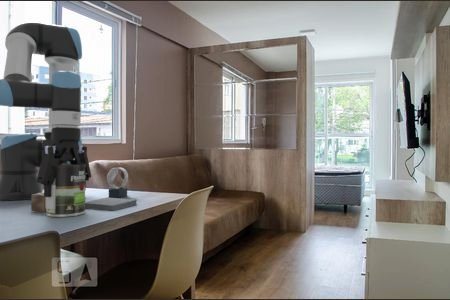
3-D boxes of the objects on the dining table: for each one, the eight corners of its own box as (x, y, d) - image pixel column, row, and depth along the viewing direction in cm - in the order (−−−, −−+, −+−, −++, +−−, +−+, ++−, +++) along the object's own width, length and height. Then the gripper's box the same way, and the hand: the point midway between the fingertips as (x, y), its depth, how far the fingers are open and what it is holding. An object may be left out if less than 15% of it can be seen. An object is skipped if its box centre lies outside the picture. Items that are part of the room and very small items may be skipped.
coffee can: (92, 211, 104) (92, 163, 104) (70, 218, 94) (70, 165, 94) (61, 209, 106) (61, 162, 106) (37, 216, 96) (37, 164, 96)
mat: (81, 207, 109) (81, 202, 109) (106, 201, 121) (106, 197, 120) (112, 210, 105) (112, 205, 105) (136, 204, 116) (136, 199, 116)
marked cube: (31, 211, 103) (31, 193, 102) (45, 208, 107) (45, 191, 107) (44, 213, 101) (44, 194, 101) (58, 210, 105) (58, 192, 105)
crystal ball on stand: (112, 195, 136) (113, 166, 136) (131, 196, 134) (131, 167, 134) (104, 197, 131) (104, 167, 131) (122, 198, 128) (123, 168, 128)
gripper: (42, 124, 88) (42, 213, 88) (104, 128, 109) (103, 200, 109) (20, 125, 90) (20, 211, 91) (84, 129, 111) (84, 199, 112)
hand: (66, 205), depth 100 cm, fingers open, 10 cm apart
